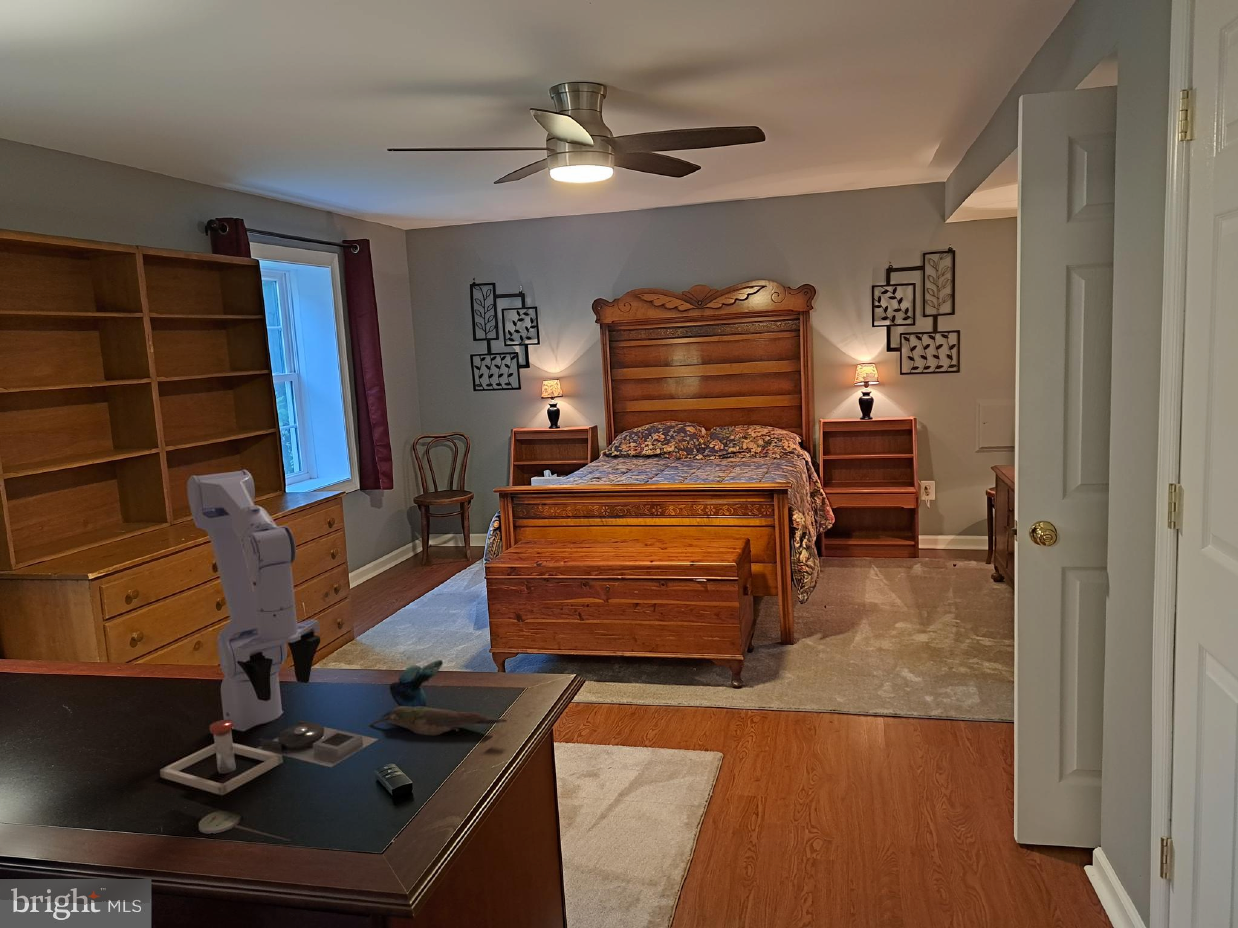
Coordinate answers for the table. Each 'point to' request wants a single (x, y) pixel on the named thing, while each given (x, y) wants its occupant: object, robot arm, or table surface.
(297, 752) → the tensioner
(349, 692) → the table surface
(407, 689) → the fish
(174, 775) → the tray
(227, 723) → the pin
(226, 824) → the sign
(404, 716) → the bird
